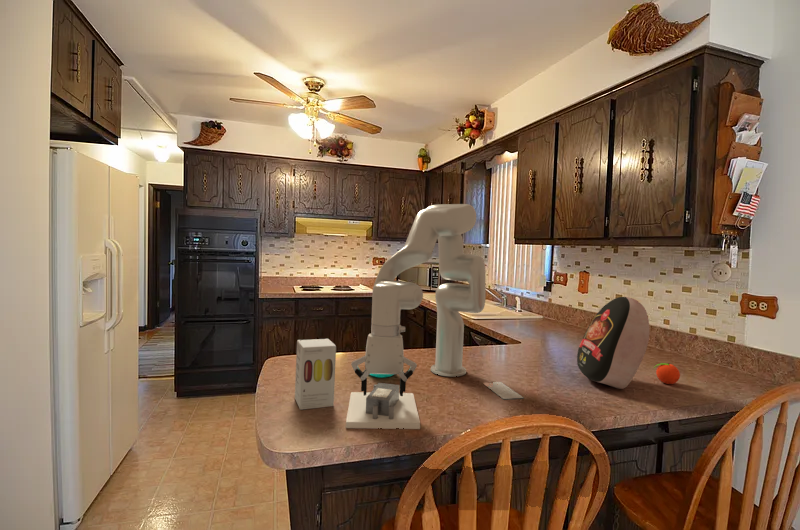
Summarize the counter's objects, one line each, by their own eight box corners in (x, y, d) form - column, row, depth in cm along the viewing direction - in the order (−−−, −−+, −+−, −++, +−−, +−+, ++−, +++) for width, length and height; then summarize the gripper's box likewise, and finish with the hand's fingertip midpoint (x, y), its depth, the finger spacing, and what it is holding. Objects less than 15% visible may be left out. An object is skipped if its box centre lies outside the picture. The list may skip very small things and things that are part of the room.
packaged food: (568, 371, 152) (573, 291, 151) (622, 374, 151) (628, 293, 150) (592, 392, 130) (598, 299, 129) (656, 396, 129) (663, 302, 128)
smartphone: (503, 399, 121) (481, 382, 136) (503, 401, 121) (481, 384, 136) (524, 398, 123) (500, 381, 138) (524, 399, 123) (500, 383, 138)
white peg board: (350, 397, 119) (351, 381, 119) (412, 398, 120) (413, 383, 120) (345, 428, 99) (346, 409, 99) (419, 429, 100) (420, 410, 100)
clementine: (654, 384, 141) (656, 364, 141) (650, 378, 148) (651, 359, 147) (681, 388, 138) (683, 367, 138) (676, 382, 145) (677, 362, 144)
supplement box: (299, 410, 108) (301, 347, 107) (293, 398, 117) (295, 339, 116) (335, 406, 112) (337, 345, 111) (327, 394, 120) (328, 337, 120)
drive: (378, 396, 116) (378, 382, 116) (398, 399, 115) (399, 384, 115) (365, 413, 104) (366, 397, 104) (388, 416, 103) (389, 400, 103)
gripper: (416, 328, 113) (414, 389, 113) (353, 326, 112) (351, 388, 112) (419, 334, 105) (416, 400, 106) (351, 332, 104) (349, 398, 105)
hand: (383, 394), depth 109 cm, fingers open, 9 cm apart
